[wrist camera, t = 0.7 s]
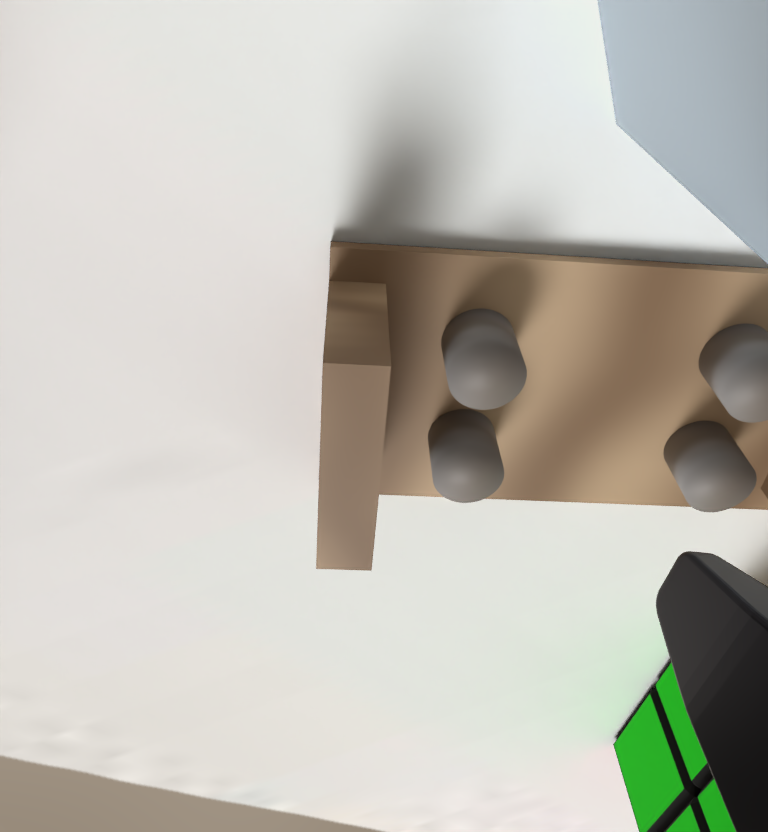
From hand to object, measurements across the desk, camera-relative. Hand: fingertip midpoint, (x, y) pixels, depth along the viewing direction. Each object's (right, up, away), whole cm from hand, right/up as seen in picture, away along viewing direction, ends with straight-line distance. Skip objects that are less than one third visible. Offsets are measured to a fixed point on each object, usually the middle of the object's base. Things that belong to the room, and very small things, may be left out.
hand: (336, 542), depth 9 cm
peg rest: (+7, +2, +14) cm, 16 cm away
